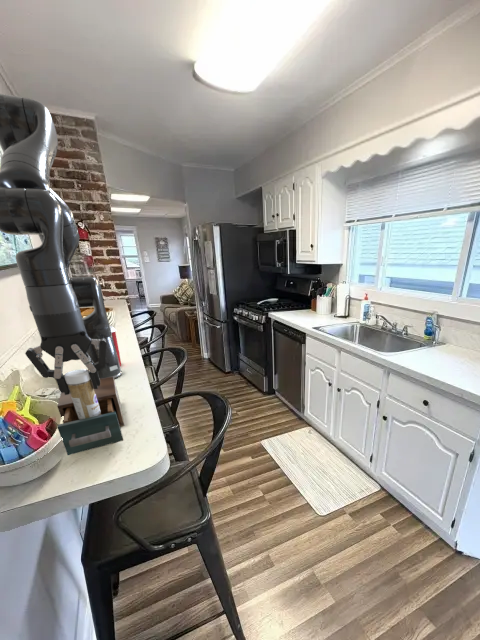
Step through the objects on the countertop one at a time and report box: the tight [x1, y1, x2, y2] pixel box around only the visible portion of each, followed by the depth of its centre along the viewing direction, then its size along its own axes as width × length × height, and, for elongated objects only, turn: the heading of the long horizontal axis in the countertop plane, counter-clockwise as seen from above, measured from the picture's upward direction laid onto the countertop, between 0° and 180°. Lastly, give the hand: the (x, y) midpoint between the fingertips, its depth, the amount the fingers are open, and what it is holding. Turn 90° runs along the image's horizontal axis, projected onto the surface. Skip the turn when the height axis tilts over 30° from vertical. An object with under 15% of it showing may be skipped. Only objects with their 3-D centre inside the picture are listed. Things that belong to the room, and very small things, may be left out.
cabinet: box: [56, 377, 125, 427], centre depth 78 cm, size 14×12×9 cm
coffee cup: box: [110, 325, 122, 367], centre depth 116 cm, size 8×8×15 cm
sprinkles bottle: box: [63, 368, 101, 420], centre depth 67 cm, size 5×5×14 cm
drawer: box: [57, 398, 124, 456], centre depth 68 cm, size 17×10×7 cm, turn 30°
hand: (81, 390), depth 66 cm, fingers closed on sprinkles bottle, 4 cm apart
